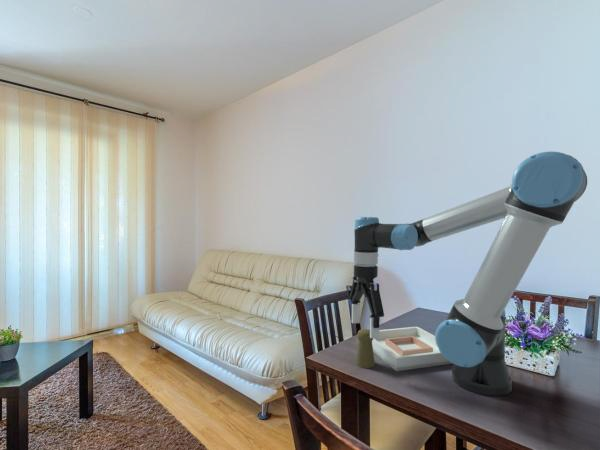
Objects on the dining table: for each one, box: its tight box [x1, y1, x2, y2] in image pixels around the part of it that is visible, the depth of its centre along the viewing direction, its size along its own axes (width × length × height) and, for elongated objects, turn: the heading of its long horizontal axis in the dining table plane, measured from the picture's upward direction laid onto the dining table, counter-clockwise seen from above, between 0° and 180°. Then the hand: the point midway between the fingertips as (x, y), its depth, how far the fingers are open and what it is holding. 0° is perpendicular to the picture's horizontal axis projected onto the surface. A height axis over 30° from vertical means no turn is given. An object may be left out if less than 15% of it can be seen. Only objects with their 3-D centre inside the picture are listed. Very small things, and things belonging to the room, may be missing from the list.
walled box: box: [372, 326, 454, 372], centre depth 114 cm, size 24×24×4 cm
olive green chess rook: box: [355, 328, 376, 369], centre depth 105 cm, size 6×6×11 cm
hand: (364, 329), depth 105 cm, fingers open, 13 cm apart
